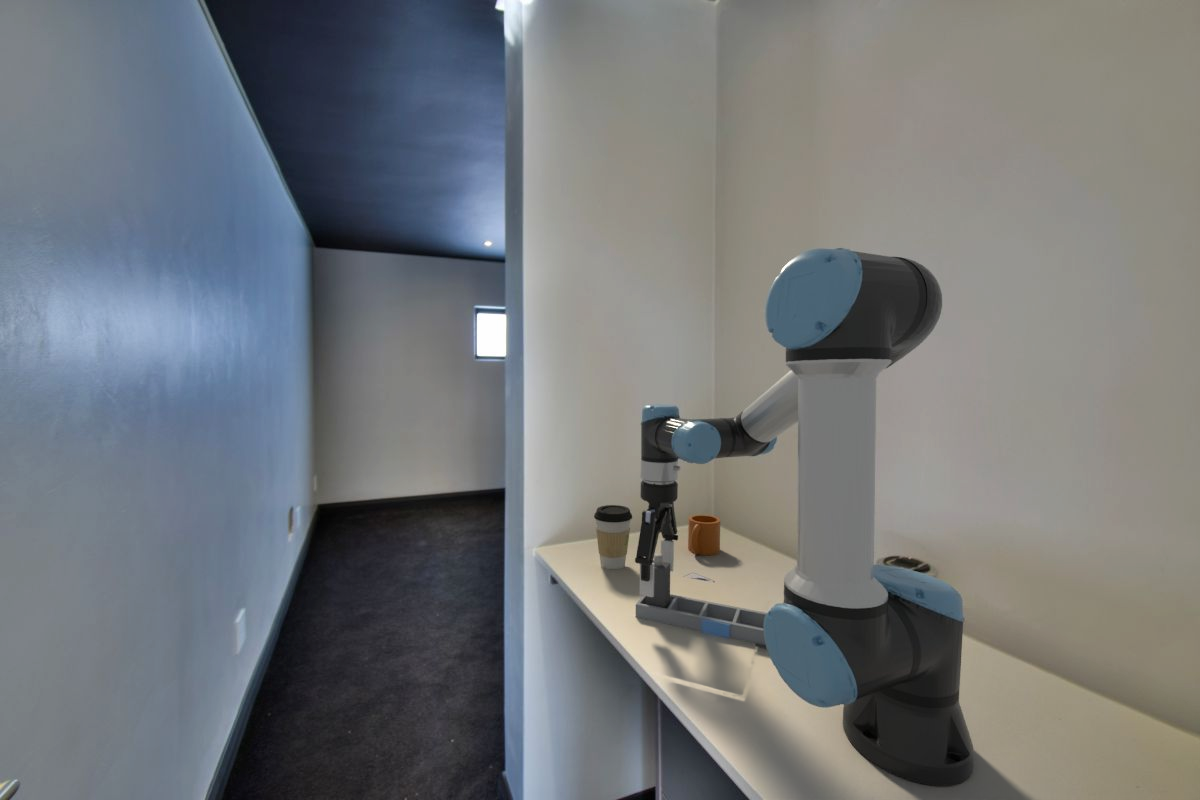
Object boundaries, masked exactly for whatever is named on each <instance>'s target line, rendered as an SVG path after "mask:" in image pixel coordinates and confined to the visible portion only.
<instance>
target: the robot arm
mask: <svg viewBox="0 0 1200 800" xmlns="http://www.w3.org/2000/svg"><path fill="white" fill-rule="evenodd" d="M942 309H943V293H942V290H941V286H940V284H939V282H938V280H937V278H936V277H935V276H934V274H933V273H932V272H931V271H930V270H929V269H928V268H927V267H926V266H924V265H923V264H921V263H920V262H917V261H915V260H913V259H910V258H906V257H901V256H887V255H881V254H875V253H868V252H861V251H854V250H851V249H849V248H845V247H844V248H843V247H839V248H838V247H837V248H823V247H821V248H812V249H809V250H806V251H804V252H801V253H799V254H797V255H796V256H795V257H793V258H792V259H790V260H789V261H788V262H787V263H786V264H785V265H784V266H783V267H782V269H781V271H780V273H779V274H778V275H777V276H776V277H775V279H774V281H773V282H772V285H771V286H770V290H769V292H768V295H767V299H766V304H765V313H764V314H765V316H764V317H765V323H766V328H767V331H768V332H769V333H771V338H773V340H774V341H775V342H776V343H777V344H779V346H780V345H781V346H782V347H783V348H785V366H786V367H787V368H788V369H789V371H788V372H787V373H785V375H783V376H781V378H780V379H779V380H777V382H775V383H774V384H773V385H772V386H771V387H769V388H768V389H767V390H766V391H765V392H764V393H763V394H761V395H760V396H759V397H758V398H756V399H755V400H754V401H753V402H752V403H750V405H748V406H747V407H746V408H745V409H743V410H742V411H741V412H740V413H739V414H737V415H736V416H734V417H719V418H696V419H694V418H693V419H691V418H690V419H689V418H688V419H687V418H681V416H680V410H679V407H678V406H676V405H674V404H648V405H645V406H643V408H642V413H641V422H640V427H641V428H640V429H641V430H640V433H641V434H640V435H641V437H640V440H641V441H640V444H641V445H640V446H641V447H640V448H641V450H640V455H641V458H640V479H641V481H640V499H642V500H643V501H644V502H646V503H648V508H647V509H646V510H642V512H641V525H640V531H639V537H638V543H637V549H636V556H635V558H634V562H635V563H636V564H639V596H648V597H653V596H654V563H653V560H654V554H656V549H657V543H658V539H659V536H660V535H659V534H660V533H661V536H662V539H660V554H662V555H663V562H667V563H670V572H674V563H675V562H674V559H675V558H674V557H675V556H674V554H675V541H678V540H679V535H678V527H677V519H676V515H675V506H674V505H675V503H674V502H676V501H677V499H678V495H679V494H678V487H679V486H678V485H679V484H678V482H677V480H678V477H679V476H678V475H679V474H678V473H679V472H680V471H681V465H679V464H678V463H679V459H680V460H682V461H683V462H686V463H688V464H697V465H705V464H708V463H710V462H711V461H713V460H714V459H722V458H723V459H725V458H739V457H757V456H759V455H767V454H769V453H771V451H772V450H773V449H775V444H777V441H778V436H780V435H781V434H784V432H786V431H787V430H789V429H790V428H792V427H793V426H794V425H797V495H796V497H797V501H796V502H797V507H796V508H797V512H796V513H797V515H796V520H797V521H796V523H797V524H796V526H797V528H796V529H797V530H796V534H797V535H796V566H795V567H794V568H792V569H791V570H790V571H788V572H787V573H786V574H785V575H784V577H783V578H784V579H783V584H784V585H783V602H782V603H781V602H779V603H776V604H774V605H773V606H772V607H771V608H770V610H768V611H766V613H767V614H766V616H765V619H764V626H763V630H764V638H765V643H766V647H767V648H766V650H767V652H768V656H769V657H770V660H771V662H772V665H773V666H774V668H776V671H777V672H778V675H779V676H780V678H781V679H782V681H784V684H786V686H787V687H789V689H790V690H791V691H792V692H793V693H794V694H795V695H797V696H798V697H799V698H800V699H802V700H803V701H805V702H806V703H808V704H810V705H812V706H815V707H818V708H832V707H836V706H837V707H838V706H840V705H843V709H842V729H843V732H844V733H845V735H846V736H845V737H847V739H848V740H849V742H850V743H851V744H852V745H853V747H854V748H855V749H856V750H857V751H858V753H860V754H861V755H863V756H864V757H865V758H866V759H867V760H869V761H870V762H872V763H873V764H874V765H876V766H878V767H879V768H881V769H883V770H885V771H887V772H888V773H891V774H893V775H895V776H898V777H900V778H903V779H905V780H908V781H912V782H915V783H919V784H923V785H930V786H937V787H938V786H939V787H941V786H942V787H943V786H944V787H946V786H954V785H958V784H961V783H964V782H965V781H966V780H968V779H969V778H970V776H971V775H972V773H973V771H974V759H975V758H974V756H975V755H974V753H975V752H974V751H975V750H974V745H973V741H972V738H971V736H970V731H969V729H968V726H967V722H966V720H965V717H964V713H963V711H962V707H961V704H960V703H961V702H960V687H961V686H960V685H961V670H962V669H961V668H962V667H961V666H962V650H963V649H962V648H963V630H964V622H965V617H964V611H963V610H964V608H963V607H964V605H963V598H962V595H961V594H960V593H959V591H958V590H957V589H956V588H955V587H953V586H952V585H951V584H949V583H947V582H946V581H944V580H941V579H939V578H937V577H934V576H931V575H930V574H926V573H923V572H919V571H915V570H912V569H908V568H904V567H899V566H894V565H887V564H875V515H876V513H875V506H876V504H875V503H876V502H875V501H876V499H875V495H876V494H875V493H876V491H875V490H876V436H877V435H876V431H877V429H876V424H877V421H876V420H877V415H876V414H877V378H878V376H879V375H880V373H882V372H883V371H884V370H887V369H888V368H889V367H891V366H893V365H895V363H897V362H898V361H900V360H902V359H903V358H904V357H906V356H907V355H908V354H910V353H911V352H912V351H914V350H915V349H916V348H918V347H919V346H920V345H921V344H922V343H923V342H924V341H926V339H927V338H928V336H929V335H930V334H931V333H932V332H933V331H934V329H935V327H936V326H937V323H938V322H939V319H940V317H941V314H942ZM929 337H930V336H929Z"/></svg>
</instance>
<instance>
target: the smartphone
mask: <svg viewBox="0 0 1200 800" xmlns="http://www.w3.org/2000/svg"><path fill="white" fill-rule="evenodd" d="M682 578H687V579H694V580H700V581H704V582H710V583H716V581H715V580H713V579H711V578H709V577H705V576H703V575H700V574H698V573H696V572H690V573H688V574H686V575H683V576H682Z"/></svg>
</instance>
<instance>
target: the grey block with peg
mask: <svg viewBox="0 0 1200 800" xmlns="http://www.w3.org/2000/svg"><path fill="white" fill-rule="evenodd" d="M653 563H654V596H653V597H648V596H646V599H645V604H646V605H651V606H656V607H661V608H666V609H667V608H668V607H669V605H670V594H671V571H670V563H667V562H663V555H662V554H661V553H655V554H654V558H653Z"/></svg>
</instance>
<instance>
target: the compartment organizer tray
mask: <svg viewBox="0 0 1200 800" xmlns="http://www.w3.org/2000/svg"><path fill="white" fill-rule="evenodd" d="M645 599H646V596H643V595H641V597H640V598H639V600H638V601H637V602H636V603H635V618H638V619H639V618H640V619H642V620H648V621H653V622H657V623H661V624H666V625H670V626H675V627H679V628H683V629H689V630H694V631H699V632H701V633H704V634H708V635H712V636H717V637H723V638H727V639H730V638H732V639H735V640H740V641H745V642H749V643H754V644H755V645H754V646H755V647H758V648H763V649H767V647H766V643H765V638H764V630H763V626H764V619H765V616H766V614H767V612H764V611H759V610H754V609H749V608H743V607H739V606H734V605H733V606H732V605H728V604H723V603H717V602H713V601H707V600H701V599H696V598H691V597H687V596H682V595H676V594H671V593H670V605H669V607H668V608H667V609H666V608H661V607H656V606H651V605H646V604H645Z"/></svg>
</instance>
